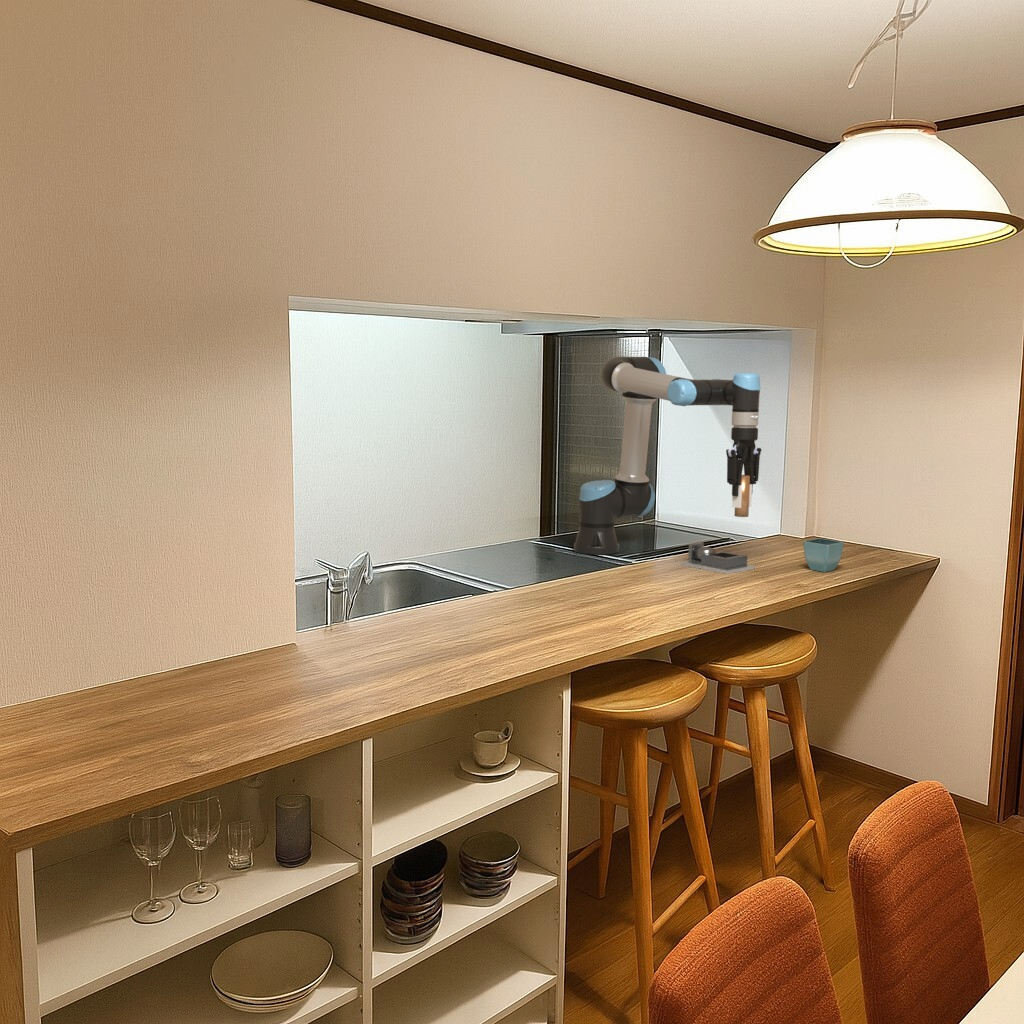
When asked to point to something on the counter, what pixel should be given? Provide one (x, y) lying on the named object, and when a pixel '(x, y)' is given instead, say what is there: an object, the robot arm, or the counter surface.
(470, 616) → the counter surface
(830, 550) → the flower pot
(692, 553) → the dark grey holder base
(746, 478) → the pipe stub
